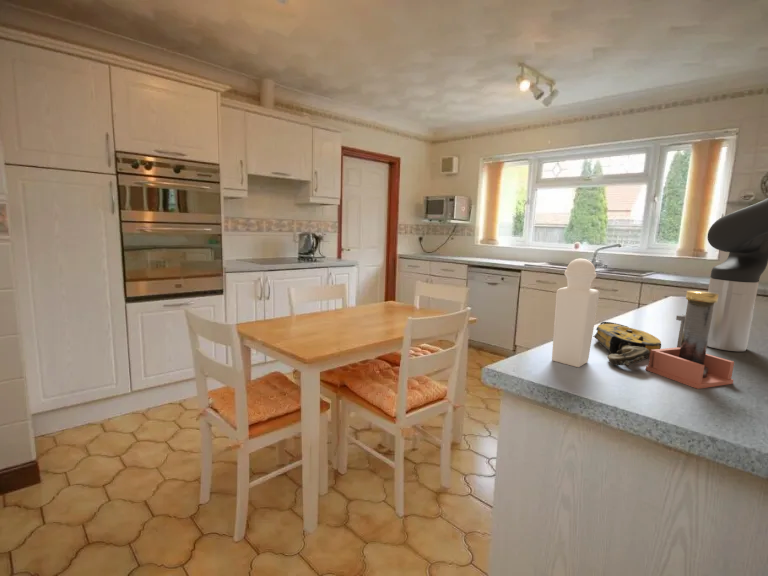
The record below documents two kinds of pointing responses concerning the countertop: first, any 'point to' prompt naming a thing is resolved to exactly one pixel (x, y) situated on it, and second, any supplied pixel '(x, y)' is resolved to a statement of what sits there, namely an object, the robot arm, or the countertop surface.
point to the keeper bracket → (690, 366)
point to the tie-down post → (697, 326)
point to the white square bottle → (575, 314)
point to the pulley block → (626, 343)
